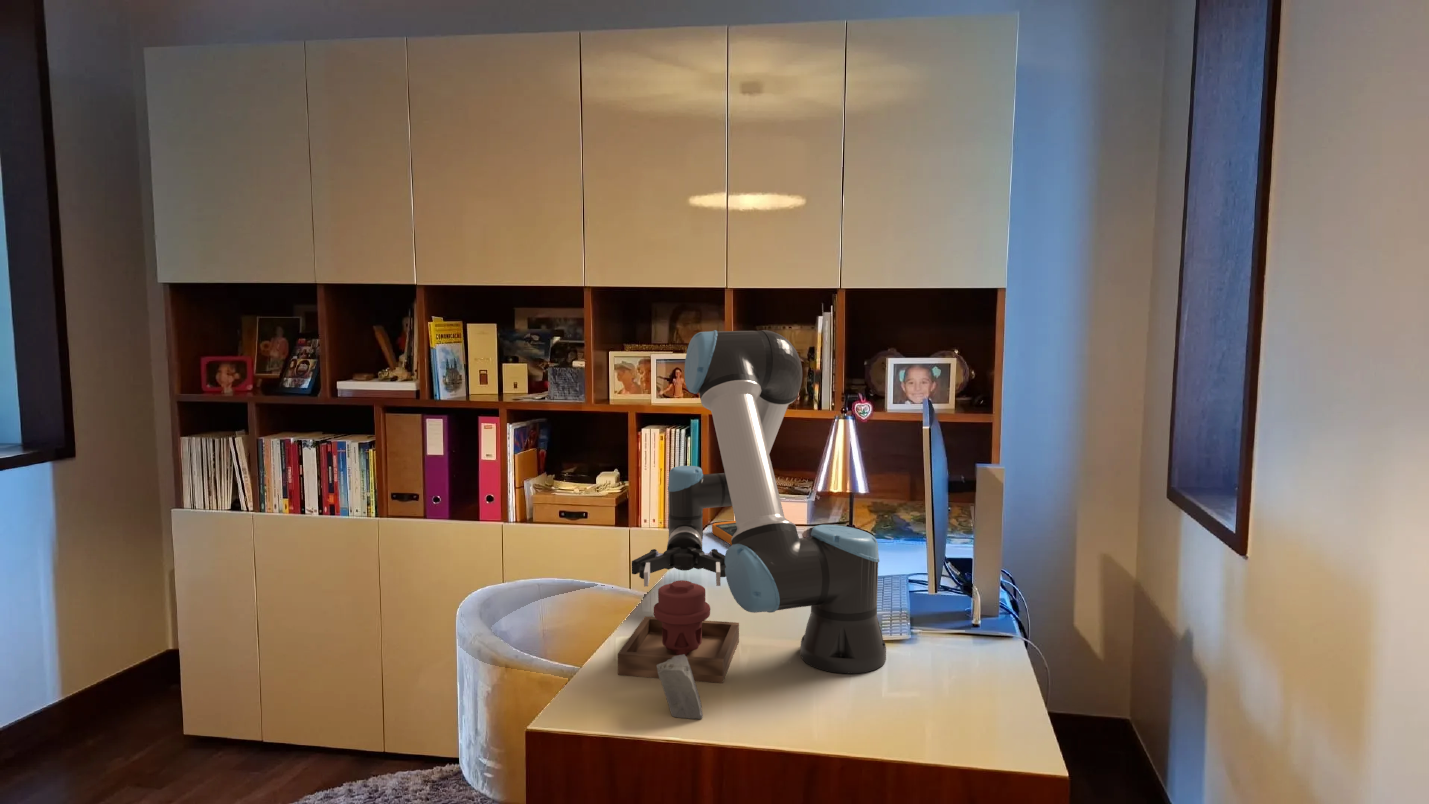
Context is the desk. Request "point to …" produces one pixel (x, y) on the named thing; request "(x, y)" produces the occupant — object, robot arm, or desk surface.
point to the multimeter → (725, 530)
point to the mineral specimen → (680, 688)
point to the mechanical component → (681, 615)
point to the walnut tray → (704, 661)
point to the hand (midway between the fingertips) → (682, 579)
